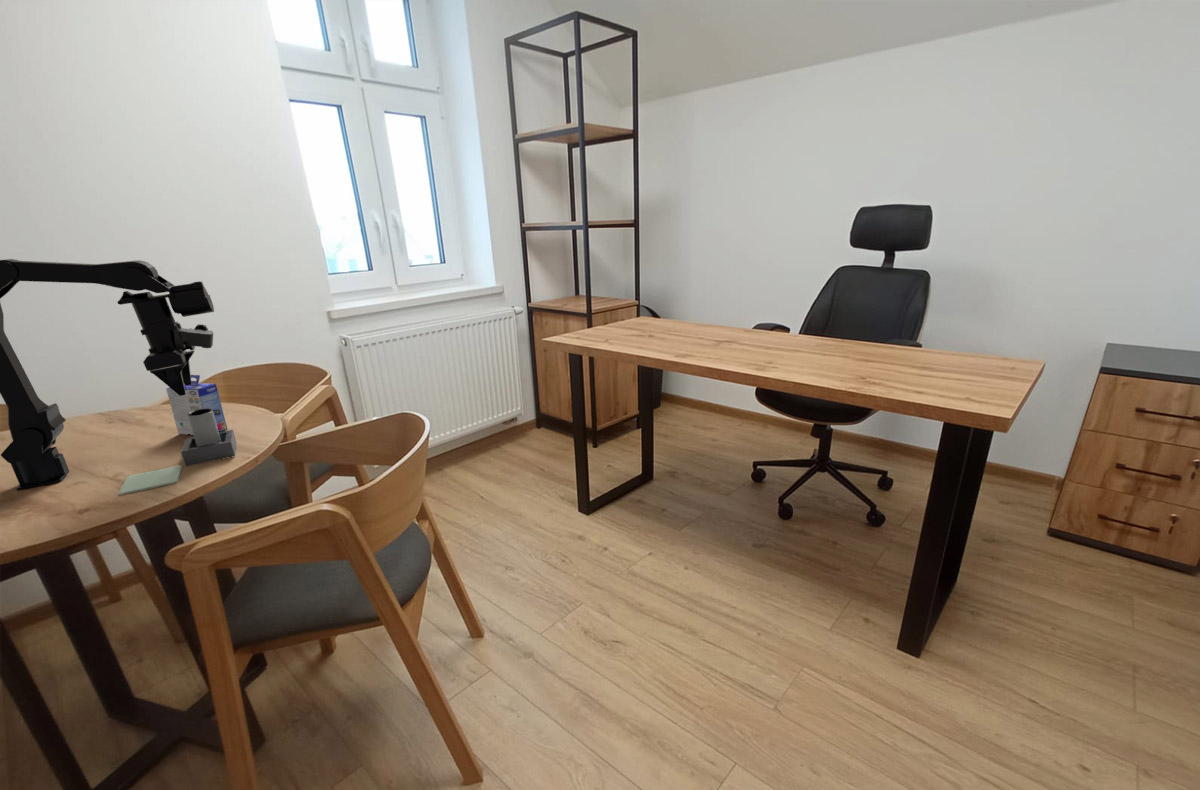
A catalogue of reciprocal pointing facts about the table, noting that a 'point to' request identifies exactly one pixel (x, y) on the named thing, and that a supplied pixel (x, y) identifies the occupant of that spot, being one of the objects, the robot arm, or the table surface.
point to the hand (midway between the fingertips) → (185, 389)
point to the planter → (204, 427)
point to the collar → (209, 449)
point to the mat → (151, 479)
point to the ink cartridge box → (195, 404)
